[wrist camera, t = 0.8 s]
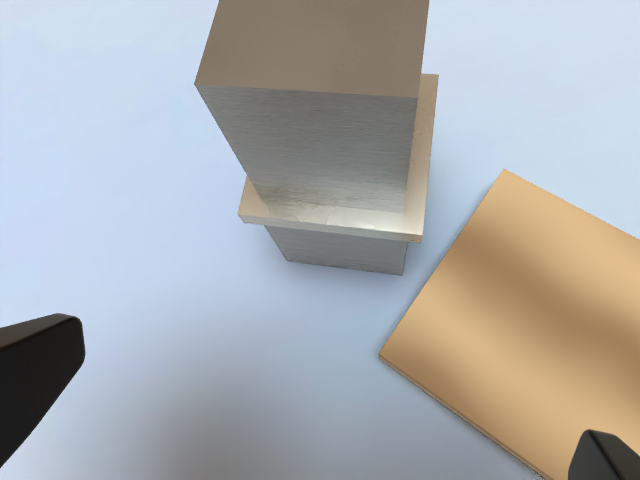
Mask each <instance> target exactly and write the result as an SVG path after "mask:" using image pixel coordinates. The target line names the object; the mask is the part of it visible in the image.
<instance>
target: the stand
mask: <svg viewBox="0 0 640 480" xmlns="http://www.w3.org/2000/svg"><path fill="white" fill-rule="evenodd" d="M378 354H379V359H381V360H382V361H383V362H385V363H386V364H388V365H389V366H390V367H392V368H393V369H395V370H396V371H397V372H399V373H400V374H402V375H403V376H404V377H406V378H407V379H408V380H410V381H411V382H413V383H414V384H415V385H417V386H418V387H420V388H421V389H422V390H424V391H425V392H426V393H428V394H429V395H431V396H432V397H433V398H435V399H436V400H438V401H439V402H440V403H442V404H443V405H444V406H446V407H447V408H449V409H450V410H451V411H453V412H454V413H456V414H457V415H458V416H460V417H461V418H462V419H464V420H465V421H467V422H468V423H469V424H471V425H472V426H474V427H475V428H476V429H478V430H479V431H480V432H482V433H483V434H485V435H486V436H487V437H489V438H490V439H492V440H493V441H494V442H496V443H497V444H498V445H500V446H501V447H503V448H504V449H505V450H507V451H508V452H510V453H511V454H512V455H514V456H515V457H516V458H518V459H519V460H521V461H522V462H523V463H525V464H526V465H528V466H529V467H530V468H532V469H533V470H534V471H536V472H537V473H539V474H540V475H541V476H543V477H544V478H546V479H547V480H568V469H569V466H570V463H571V460H572V458H573V455H574V452H575V450H576V447H577V445H578V442H579V439H580V437H581V435H582V433H583V432H584V431H585V430H588V429H592V430H597V431H602V432H606V433H611V434H614V435H616V436H617V437H619V438H620V439H621V440H622V441H623V442H624V443H626V444H627V445H628V446H629V447H630V448H631V449H632V450H634V451H635V452H636V453H637V454H638V455H639V456H640V240H639V239H637V238H635V237H633V236H631V235H629V234H627V233H625V232H623V231H621V230H620V229H618V228H616V227H614V226H612V225H610V224H608V223H606V222H604V221H602V220H601V219H599V218H597V217H595V216H593V215H591V214H589V213H587V212H585V211H583V210H582V209H580V208H578V207H576V206H574V205H572V204H570V203H568V202H566V201H564V200H563V199H561V198H559V197H557V196H555V195H553V194H551V193H549V192H547V191H545V190H544V189H542V188H540V187H538V186H536V185H534V184H532V183H530V182H528V181H526V180H525V179H523V178H521V177H519V176H517V175H515V174H513V173H511V172H509V171H507V170H506V169H503V171H502V172H501V174H500V175H499V177H498V178H497V180H496V181H495V183H494V184H493V186H492V187H491V188H490V190H489V191H488V193H487V194H486V196H485V197H484V199H483V200H482V202H481V203H480V205H479V206H478V208H477V209H476V211H475V212H474V214H473V215H472V216H471V218H470V219H469V221H468V222H467V224H466V225H465V227H464V228H463V230H462V231H461V233H460V234H459V236H458V237H457V239H456V240H455V242H454V243H453V244H452V246H451V247H450V249H449V250H448V252H447V253H446V255H445V256H444V258H443V259H442V261H441V262H440V264H439V265H438V267H437V268H436V269H435V271H434V272H433V274H432V275H431V277H430V278H429V280H428V281H427V283H426V284H425V286H424V287H423V289H422V290H421V292H420V293H419V295H418V296H417V297H416V299H415V300H414V302H413V303H412V305H411V306H410V308H409V309H408V311H407V312H406V314H405V315H404V317H403V318H402V320H401V321H400V323H399V324H398V325H397V327H396V328H395V330H394V331H393V333H392V334H391V336H390V337H389V339H388V340H387V342H386V343H385V345H384V346H383V348H382V349H381V351H380V352H379V353H378Z"/></svg>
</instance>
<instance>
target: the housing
mask: <svg viewBox="0 0 640 480" xmlns="http://www.w3.org/2000/svg"><path fill="white" fill-rule="evenodd" d="M428 8H429V0H219V3H218V7H217V10H216V13H215V17H214V20H213V23H212V26H211V30H210V33H209V36H208V40H207V43H206V46H205V50H204V53H203V56H202V60H201V63H200V66H199V70H198V73H197V76H196V80H195V83H194V85H195V86H196V88H197V90H198V91H199V93H200V95H201V97H202V98H203V100H204V102H205V104H206V105H207V107H208V109H209V110H210V112H211V114H212V116H213V117H214V119H215V121H216V122H217V124H218V126H219V128H220V129H221V131H222V133H223V134H224V136H225V138H226V140H227V141H228V143H229V145H230V146H231V148H232V150H233V152H234V153H235V155H236V157H237V158H238V160H239V162H240V164H241V165H242V167H243V169H244V171H245V172H246V174H247V177H246V182H245V186H244V190H243V194H242V198H241V202H240V207H239V211H238V216H239V217H240V218H241V220H242V221H243V222H244V223H250V224H259V225H264V226H265V228H266V229H267V231H268V232H269V234H270V235H271V237H272V238H273V240H274V241H275V243H276V245H277V246H278V248H279V249H280V251H281V252H282V254H283V255H284V257H285V258H286V260H287V261H291V262H299V263H307V264H315V265H323V266H331V267H339V268H346V269H354V270H362V271H370V272H378V273H386V274H394V275H401V276H402V272H403V266H404V261H405V255H406V250H407V244H408V242H416V243H421V239H422V235H423V226H424V216H425V206H426V196H427V186H428V176H429V166H430V156H431V146H432V136H433V126H434V116H435V106H436V96H437V86H438V76H439V75H435V74H421V68H422V60H423V51H424V42H425V34H426V25H427V16H428Z"/></svg>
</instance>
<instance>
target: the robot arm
mask: <svg viewBox="0 0 640 480" xmlns="http://www.w3.org/2000/svg"><path fill="white" fill-rule="evenodd" d="M84 359H85V344H84V336H83V328H82V323H81V321H80V319H79V318H77V317H75V316H71V315H66V314H61V313H57V314H52V315H48V316H44V317H41V318H37V319H33V320H29V321H25V322H21V323H18V324H14V325H10V326H6V327H2V328H0V468H1V467H2V466H3V465H4V463H5V462H6V461H7V460H8V459H9V458H10V457H11V456H12V454H13V453H14V452H15V451H16V450H17V449H18V448H19V447H20V446H21V444H22V443H23V442H24V441H25V440H26V438H27V437H28V436H29V435H30V434H31V432H32V431H33V430H34V429H35V427H36V426H37V425H38V424H39V422H40V421H41V420H42V418H43V417H44V416H45V414H46V413H47V412H48V410H49V409H50V408H51V406H52V405H53V404H54V402H55V401H56V400H57V398H58V397H59V395H60V394H61V393H62V391H63V390H64V389H65V387H66V386H67V385H68V383H69V382H70V381H71V379H72V378H73V377H74V375H75V374H76V373H77V371H78V370H79V369H80V367H81V366H82V364H83V362H84ZM568 480H640V456H639V455H638V454H637V453H636V452H635V451H634V450H632V449H631V448H630V447H629V446H628V445H627V444H626V443H624V442H623V441H622V440H621V439H620V438H619V437H617V436H616V435H614V434H611V433H606V432H602V431H597V430H592V429H588V430H585V431H584V432H583V433H582V435H581V437H580V439H579V442H578V445H577V447H576V450H575V452H574V455H573V458H572V460H571V463H570V466H569V469H568Z"/></svg>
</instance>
